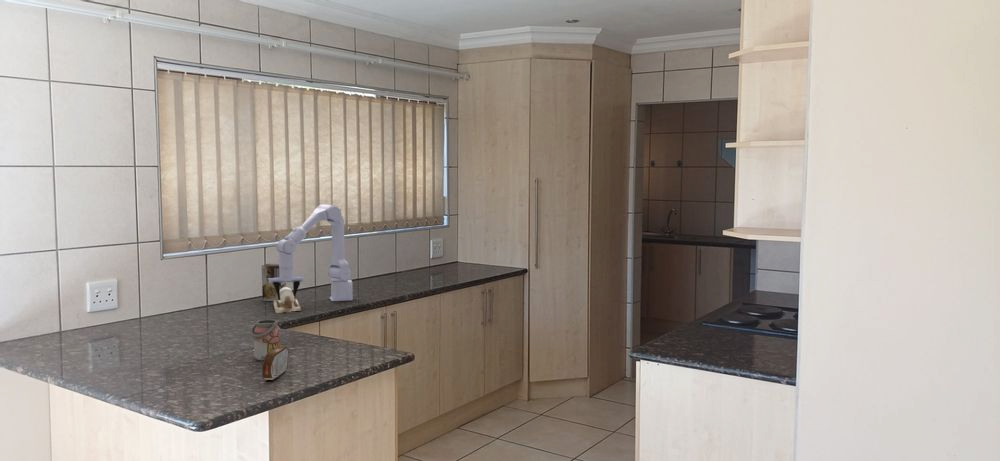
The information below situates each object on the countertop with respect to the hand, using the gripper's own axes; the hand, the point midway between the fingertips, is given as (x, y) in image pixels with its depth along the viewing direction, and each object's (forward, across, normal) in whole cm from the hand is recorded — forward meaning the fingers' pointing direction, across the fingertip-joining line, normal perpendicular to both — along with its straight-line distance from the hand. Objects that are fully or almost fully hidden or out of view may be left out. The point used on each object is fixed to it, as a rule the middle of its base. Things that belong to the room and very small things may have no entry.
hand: (286, 299), depth 314 cm
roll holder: (+4, 0, 0) cm, 4 cm away
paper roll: (+1, 0, 0) cm, 1 cm away
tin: (+4, -10, -101) cm, 102 cm away
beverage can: (+4, -12, -80) cm, 81 cm away
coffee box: (+4, -4, +19) cm, 20 cm away
